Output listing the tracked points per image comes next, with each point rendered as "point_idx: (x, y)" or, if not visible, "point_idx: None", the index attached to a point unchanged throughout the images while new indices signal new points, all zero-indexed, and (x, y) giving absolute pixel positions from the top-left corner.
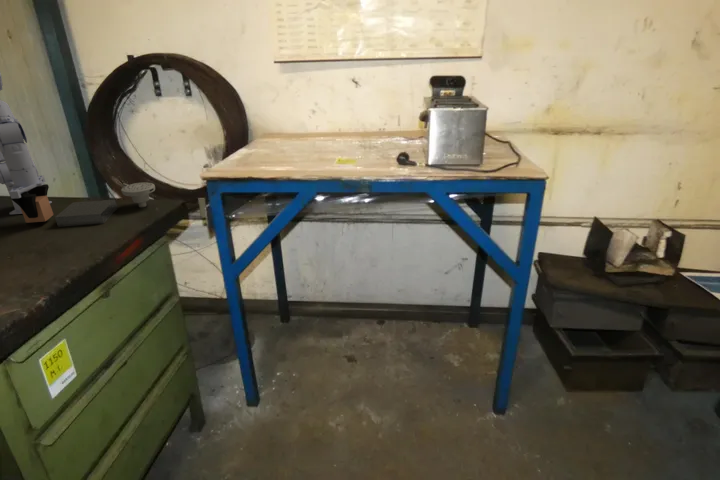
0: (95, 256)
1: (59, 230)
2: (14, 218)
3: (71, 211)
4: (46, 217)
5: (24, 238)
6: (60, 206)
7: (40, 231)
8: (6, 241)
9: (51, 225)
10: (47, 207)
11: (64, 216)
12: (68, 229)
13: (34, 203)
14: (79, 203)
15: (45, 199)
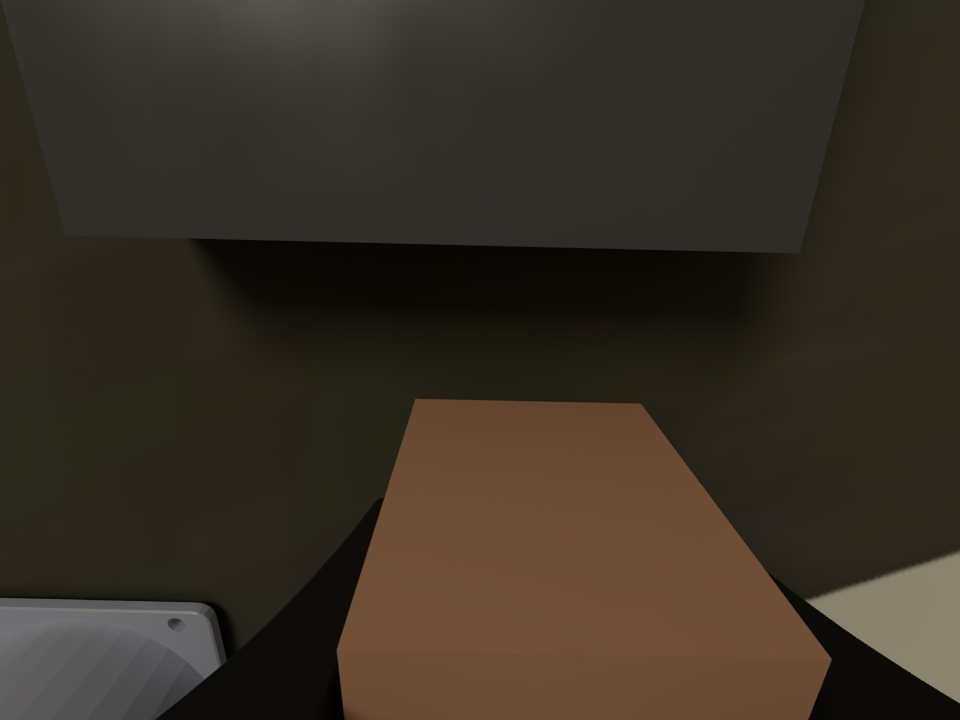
0: None
1: (854, 168)
2: None
3: (584, 45)
4: (602, 417)
5: (920, 455)
6: (6, 476)
7: (780, 382)
8: (912, 567)
9: (625, 338)
10: (498, 479)
11: (841, 79)
12: (876, 47)
13: (867, 686)
14: (112, 68)
15: (475, 595)
